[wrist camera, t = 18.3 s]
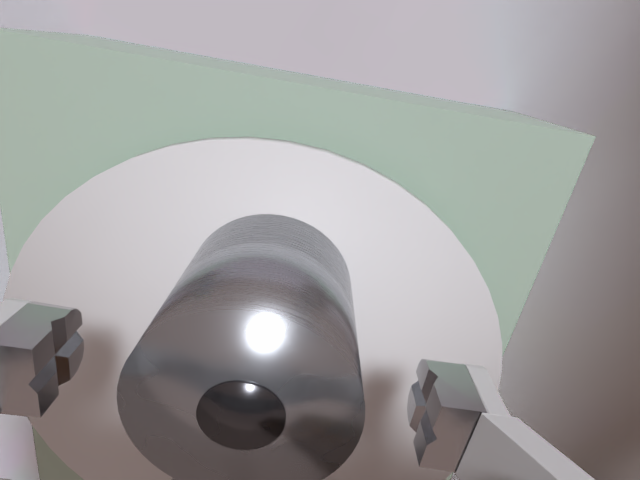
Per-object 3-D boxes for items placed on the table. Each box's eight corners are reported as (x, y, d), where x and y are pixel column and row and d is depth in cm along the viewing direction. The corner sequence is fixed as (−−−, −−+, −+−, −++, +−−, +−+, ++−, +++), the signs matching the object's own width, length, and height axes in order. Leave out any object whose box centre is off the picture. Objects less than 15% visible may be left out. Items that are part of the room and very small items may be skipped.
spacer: (366, 229, 12) (392, 335, 8) (334, 364, 14) (339, 513, 10) (194, 200, 12) (111, 292, 7) (186, 342, 14) (117, 485, 9)
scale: (513, 111, 18) (628, 146, 11) (398, 452, 26) (424, 592, 19) (86, 35, 17) (-73, 21, 10) (105, 413, 25) (23, 547, 18)
